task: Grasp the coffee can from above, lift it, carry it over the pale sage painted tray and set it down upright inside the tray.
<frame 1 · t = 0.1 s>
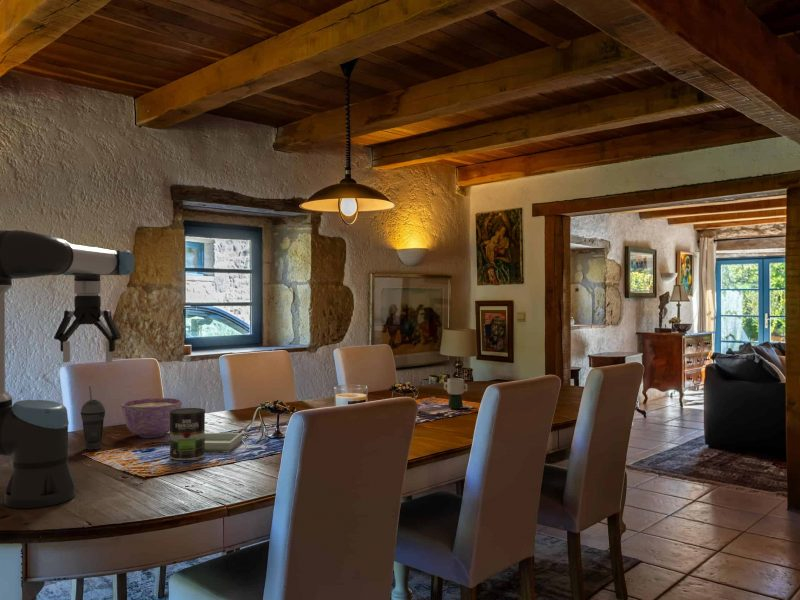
hand: (87, 362, 207), 28 cm above the table, tool pointing down, fingers open, 13 cm apart
coffee can: (187, 457, 199), on the table
beverage cup: (93, 449, 210), on the table
tray: (214, 446, 213), on the table
bowl of food: (152, 435, 230), on the table
character mug: (455, 409, 284), on the table
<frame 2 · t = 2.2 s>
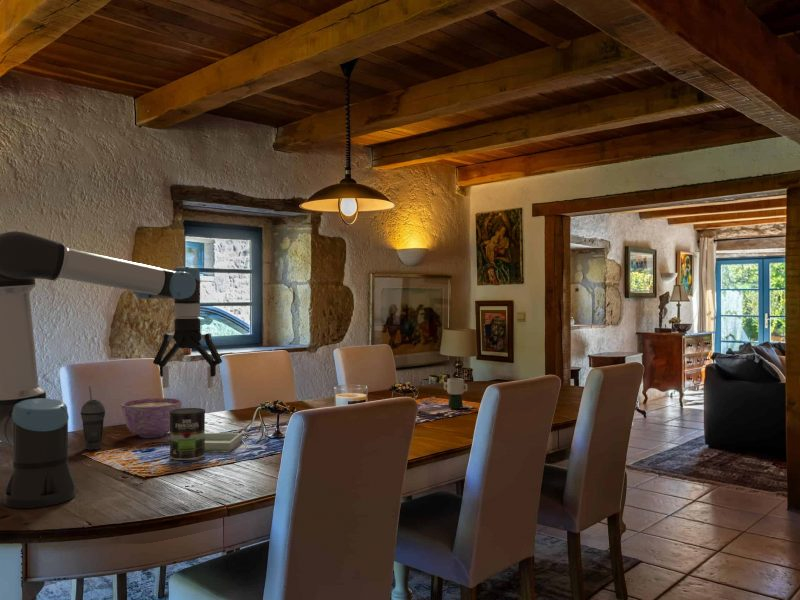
hand: (188, 387, 199), 21 cm above the table, tool pointing down, fingers open, 13 cm apart
nothing on the table moved.
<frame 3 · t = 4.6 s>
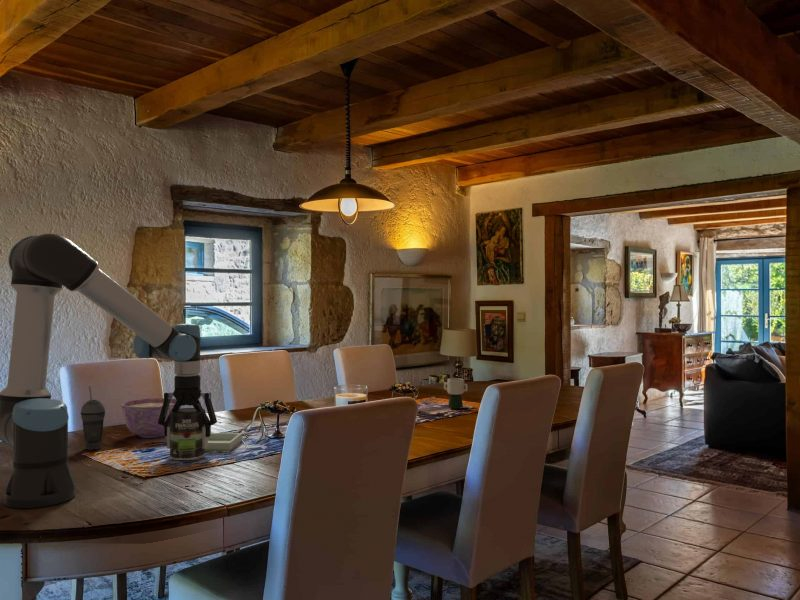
hand: (187, 447, 199), 3 cm above the table, tool pointing down, fingers closed on coffee can, 10 cm apart
coffee can: (187, 457, 199), on the table, touching gripper
everything else where it was.
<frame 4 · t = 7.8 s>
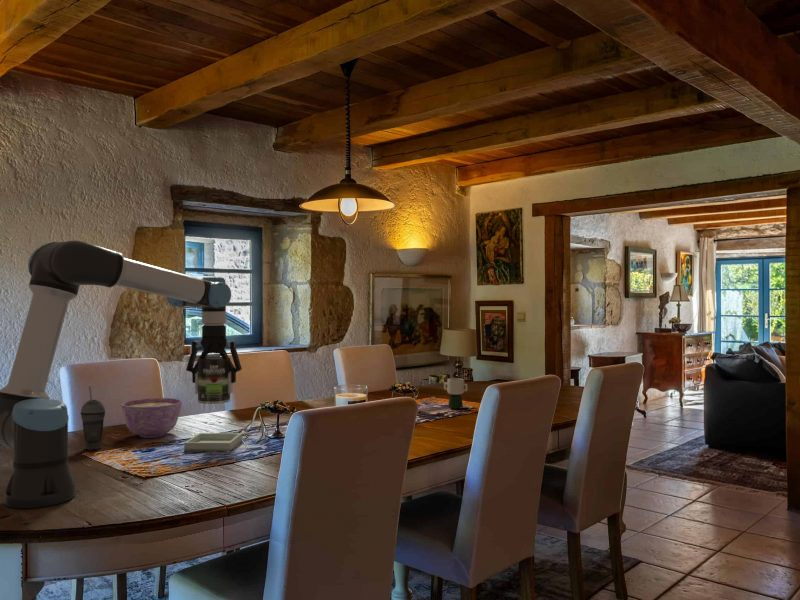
hand: (214, 393, 213), 17 cm above the table, tool pointing down, fingers closed on coffee can, 10 cm apart
coffee can: (214, 402, 213), point 14 cm above the table, touching gripper
everything else where it was.
when the fingers open (5 cm above the table, at t = 10.8 s): coffee can drops 2 cm, resting on tray.
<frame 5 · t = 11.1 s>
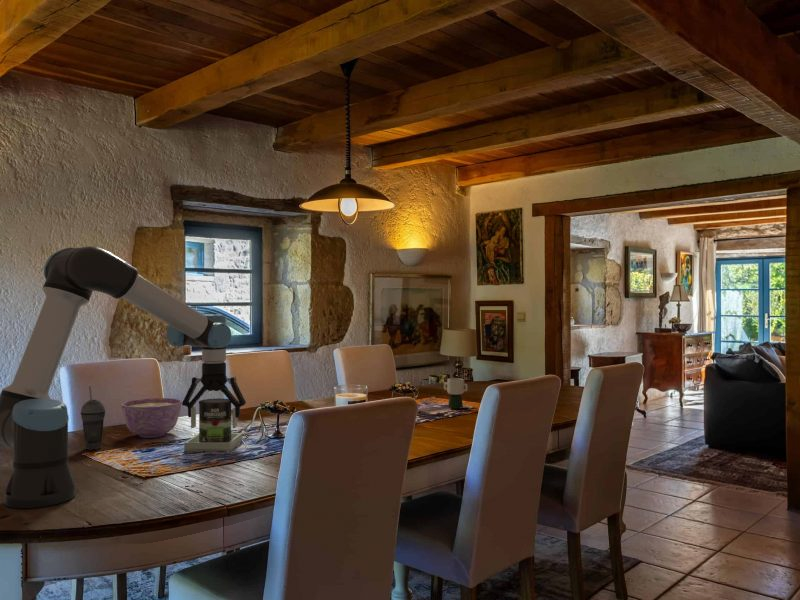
hand: (214, 427, 213), 6 cm above the table, tool pointing down, fingers open, 13 cm apart
coffee can: (215, 444, 213), point 1 cm above the table, touching tray
everything else where it was.
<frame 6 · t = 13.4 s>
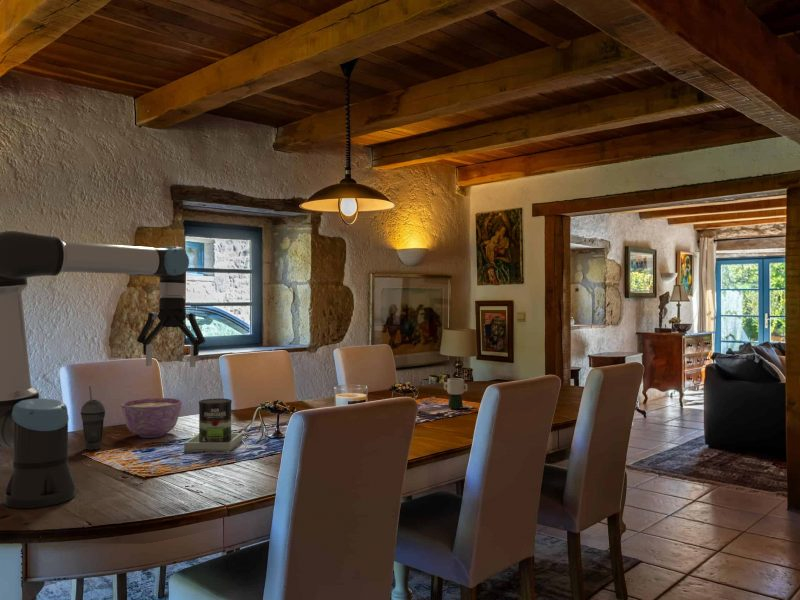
hand: (170, 366, 201), 27 cm above the table, tool pointing down, fingers open, 13 cm apart
nothing on the table moved.
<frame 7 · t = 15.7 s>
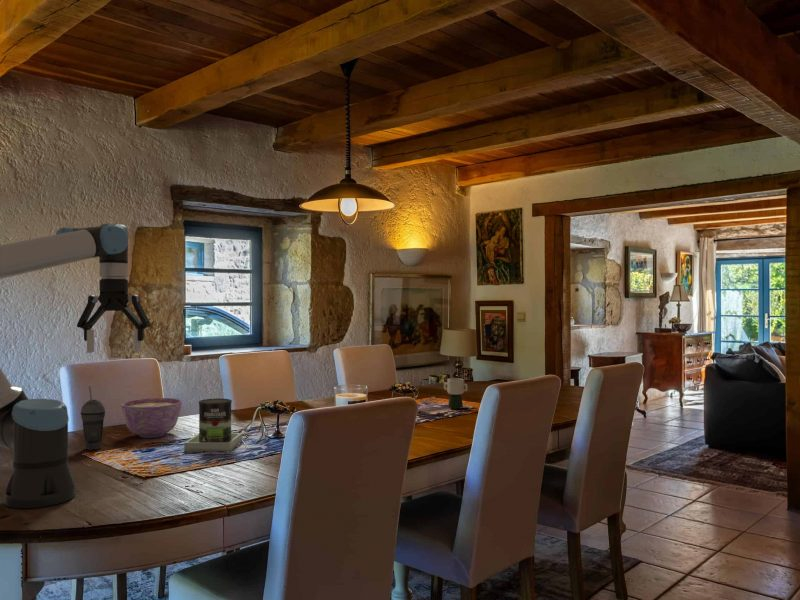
hand: (114, 352, 187), 33 cm above the table, tool pointing down, fingers open, 13 cm apart
nothing on the table moved.
at the end: coffee can inside the target area on the tray (0.4 cm from its centre), point 0.6 cm above the tray's base; coffee can tilted 0°; the gripper is holding nothing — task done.
